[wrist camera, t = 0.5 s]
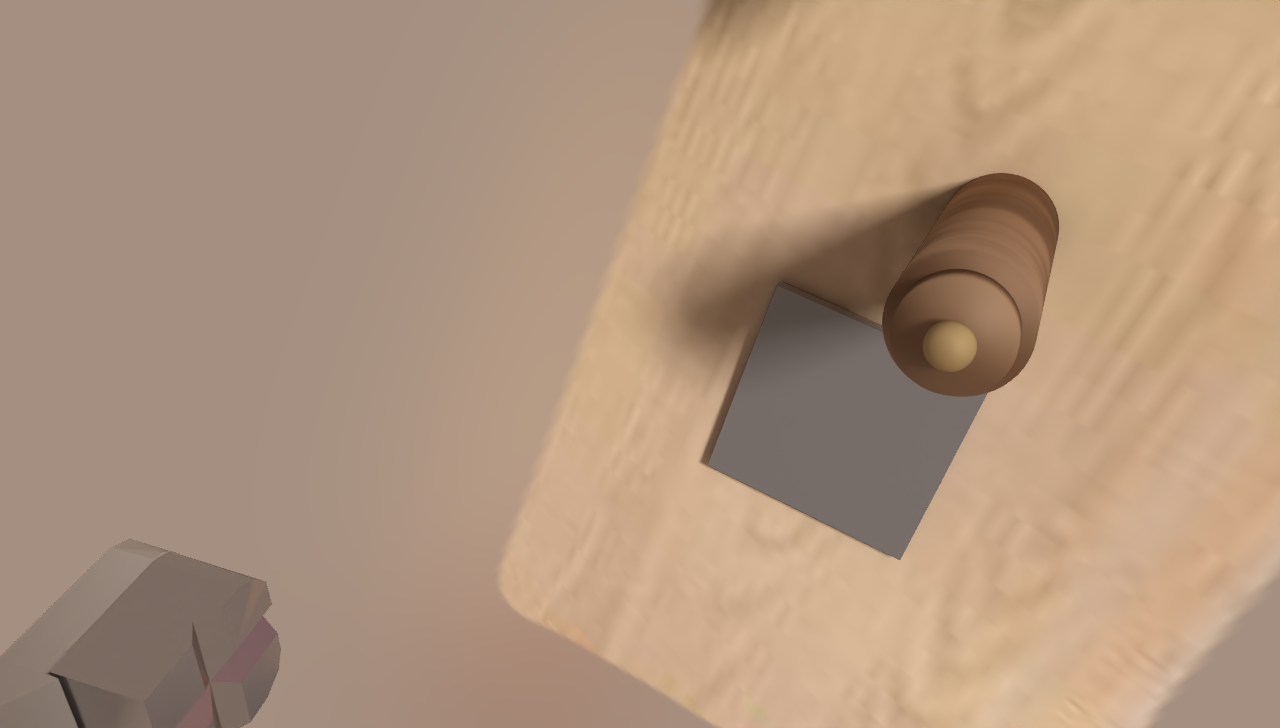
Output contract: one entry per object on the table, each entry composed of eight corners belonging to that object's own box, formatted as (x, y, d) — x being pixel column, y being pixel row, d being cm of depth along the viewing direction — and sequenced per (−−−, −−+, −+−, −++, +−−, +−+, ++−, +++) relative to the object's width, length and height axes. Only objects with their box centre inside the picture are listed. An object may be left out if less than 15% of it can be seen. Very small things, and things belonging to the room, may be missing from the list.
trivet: (781, 281, 56) (776, 285, 55) (995, 375, 53) (993, 381, 52) (712, 459, 61) (707, 465, 61) (902, 553, 59) (900, 560, 58)
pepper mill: (969, 156, 50) (902, 252, 34) (1079, 199, 48) (1061, 318, 33) (924, 256, 52) (842, 387, 37) (1027, 299, 51) (987, 453, 36)
